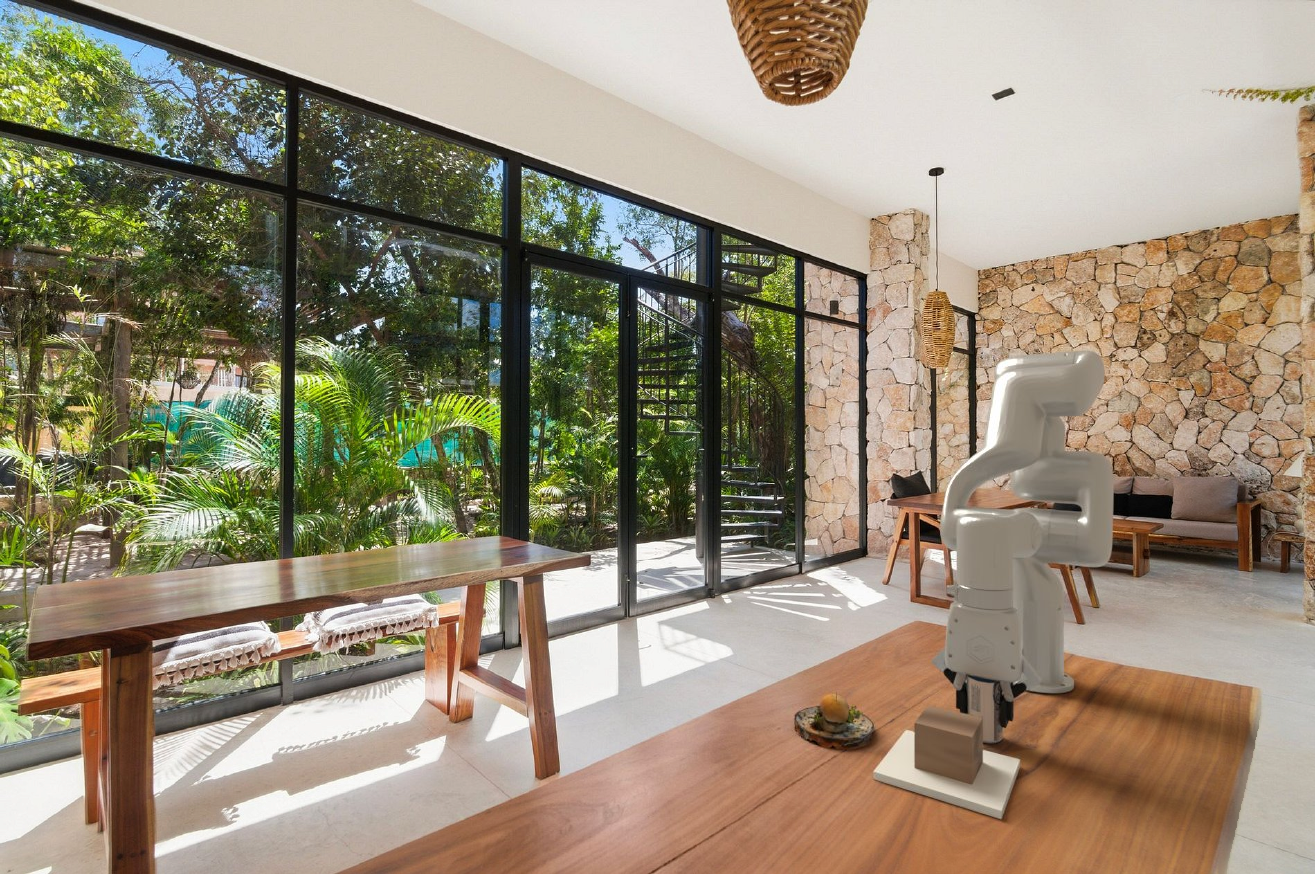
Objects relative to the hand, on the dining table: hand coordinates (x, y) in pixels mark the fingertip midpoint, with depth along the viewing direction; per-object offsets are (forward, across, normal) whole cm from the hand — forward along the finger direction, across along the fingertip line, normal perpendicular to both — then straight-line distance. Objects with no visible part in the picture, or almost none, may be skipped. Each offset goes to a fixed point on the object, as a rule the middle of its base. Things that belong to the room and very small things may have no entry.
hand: (984, 718), depth 96 cm
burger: (+3, -19, -11) cm, 22 cm away
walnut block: (+2, -2, -14) cm, 14 cm away
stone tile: (+3, -2, -14) cm, 14 cm away
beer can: (+3, 0, 0) cm, 3 cm away
